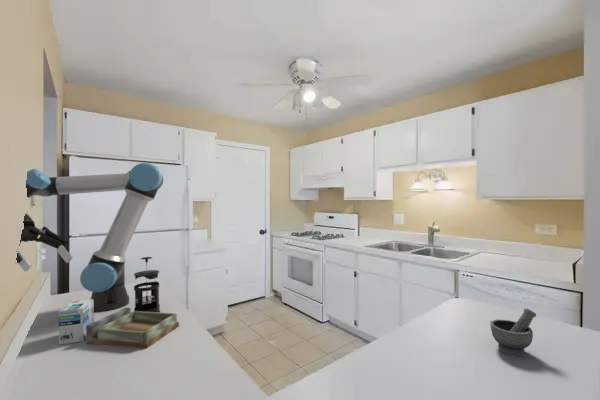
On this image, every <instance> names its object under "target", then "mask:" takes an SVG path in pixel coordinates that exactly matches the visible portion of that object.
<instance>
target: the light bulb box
mask: <svg viewBox="0 0 600 400" xmlns="http://www.w3.org/2000/svg"><path fill="white" fill-rule="evenodd" d="M90 299H91V298H90ZM90 299H83V300H72V301H70V302H69V303H68V304H66V305H65V306H64V307H63V308H62V309H60V310H58V344H59V346H60V345H66V344H74V343H81V342H84V341H85V340H87V334H86V326H87V325H89V324H91V323H93V322H95V321H94V320H95V315H94V314H95V313H94V312H95V311H94V300H93V299H91V300H90Z"/></svg>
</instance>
